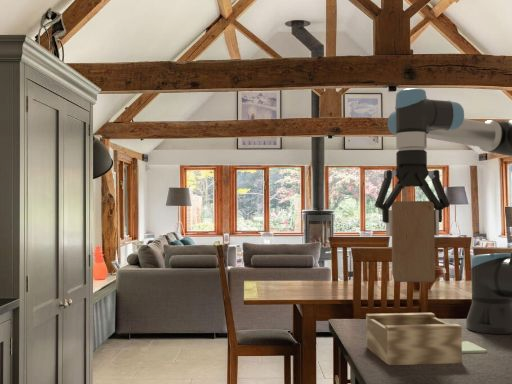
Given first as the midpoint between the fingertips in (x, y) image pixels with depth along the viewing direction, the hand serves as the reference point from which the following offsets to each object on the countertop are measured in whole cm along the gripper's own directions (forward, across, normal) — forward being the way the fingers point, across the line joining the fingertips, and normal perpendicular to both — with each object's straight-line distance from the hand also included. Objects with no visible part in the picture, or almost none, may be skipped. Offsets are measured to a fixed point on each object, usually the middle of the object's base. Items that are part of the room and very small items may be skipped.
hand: (412, 235), depth 149 cm
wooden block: (+11, 0, 0) cm, 11 cm away
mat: (+30, -14, -5) cm, 34 cm away
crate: (+30, +1, 0) cm, 30 cm away
